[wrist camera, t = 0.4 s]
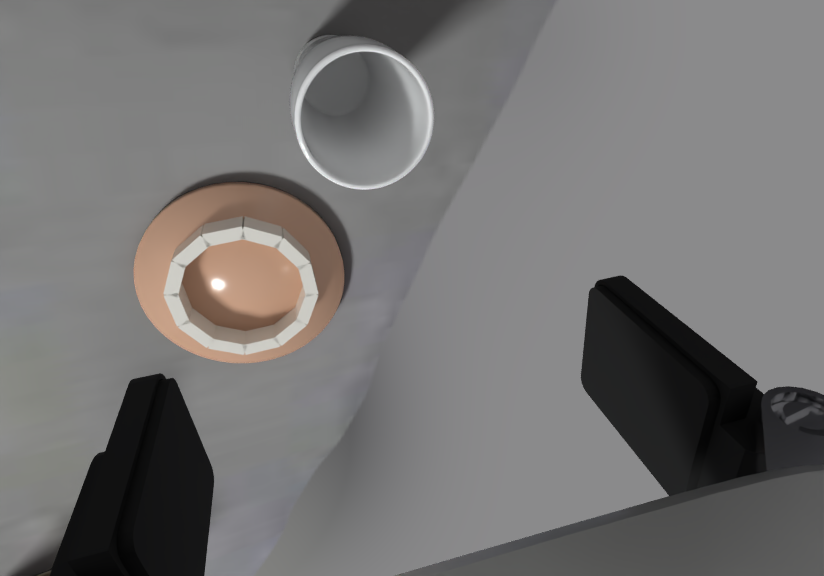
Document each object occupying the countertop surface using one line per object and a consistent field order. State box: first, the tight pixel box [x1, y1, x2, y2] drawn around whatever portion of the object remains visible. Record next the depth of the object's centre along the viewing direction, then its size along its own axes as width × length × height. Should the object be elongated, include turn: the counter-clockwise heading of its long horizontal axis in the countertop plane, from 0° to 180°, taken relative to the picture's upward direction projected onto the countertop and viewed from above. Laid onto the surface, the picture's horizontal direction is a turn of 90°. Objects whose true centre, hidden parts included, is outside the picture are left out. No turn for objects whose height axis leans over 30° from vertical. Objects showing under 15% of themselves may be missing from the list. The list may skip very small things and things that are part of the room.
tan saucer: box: [134, 182, 344, 363], centre depth 42 cm, size 16×16×3 cm
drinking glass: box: [289, 35, 434, 190], centre depth 31 cm, size 7×7×15 cm
